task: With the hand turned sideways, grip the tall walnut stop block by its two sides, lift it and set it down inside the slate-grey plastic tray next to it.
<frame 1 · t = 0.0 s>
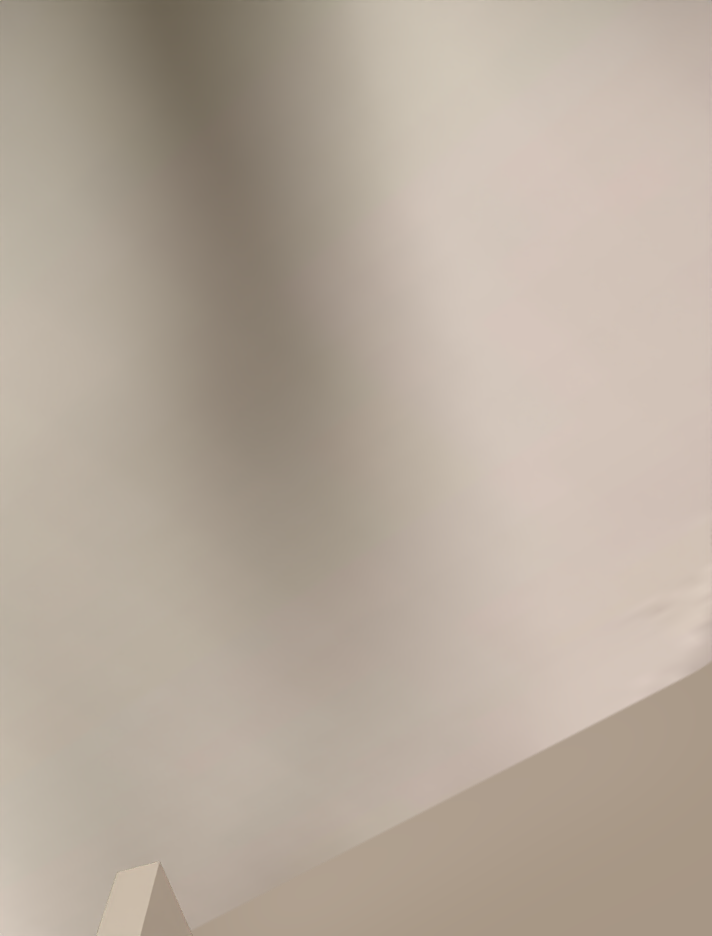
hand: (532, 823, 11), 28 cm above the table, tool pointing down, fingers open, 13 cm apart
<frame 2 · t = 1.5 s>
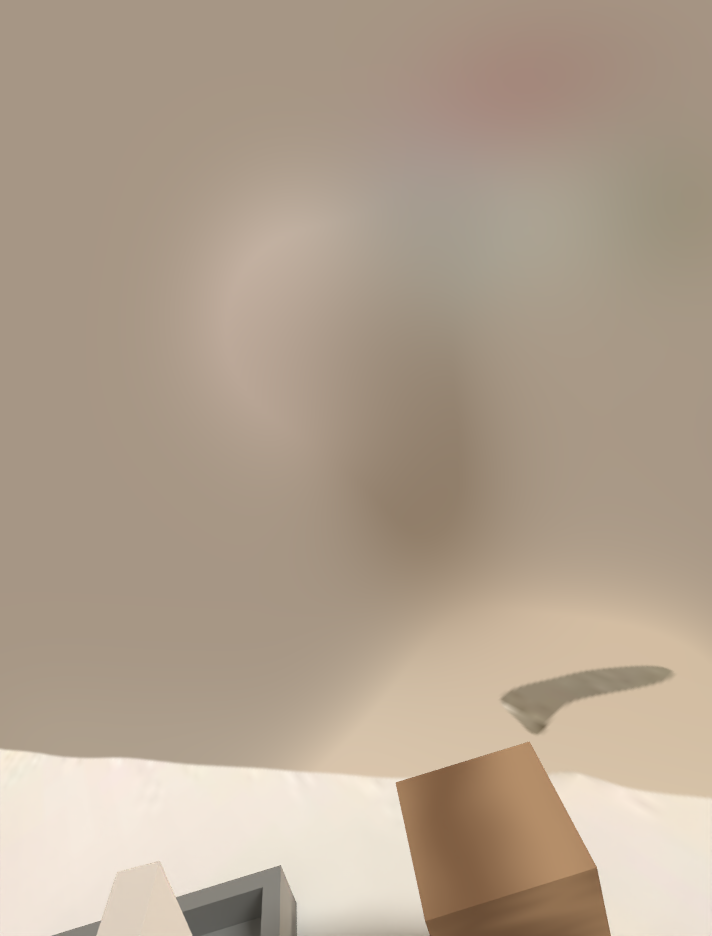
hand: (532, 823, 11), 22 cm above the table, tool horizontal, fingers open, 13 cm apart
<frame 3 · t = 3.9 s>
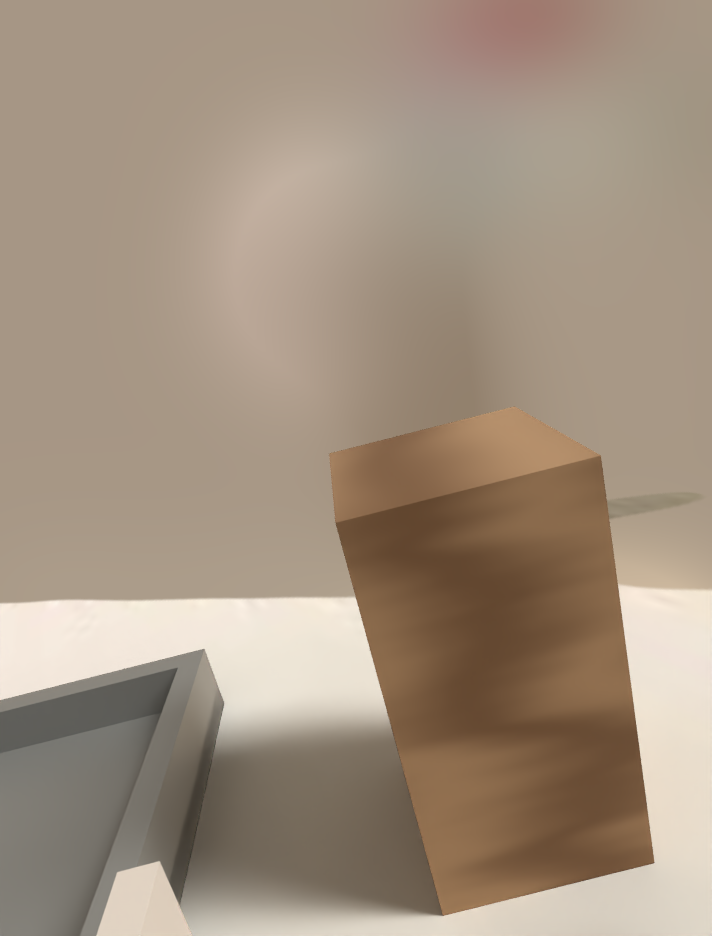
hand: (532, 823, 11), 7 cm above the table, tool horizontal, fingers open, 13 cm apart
stop block: (514, 801, 20), on the table
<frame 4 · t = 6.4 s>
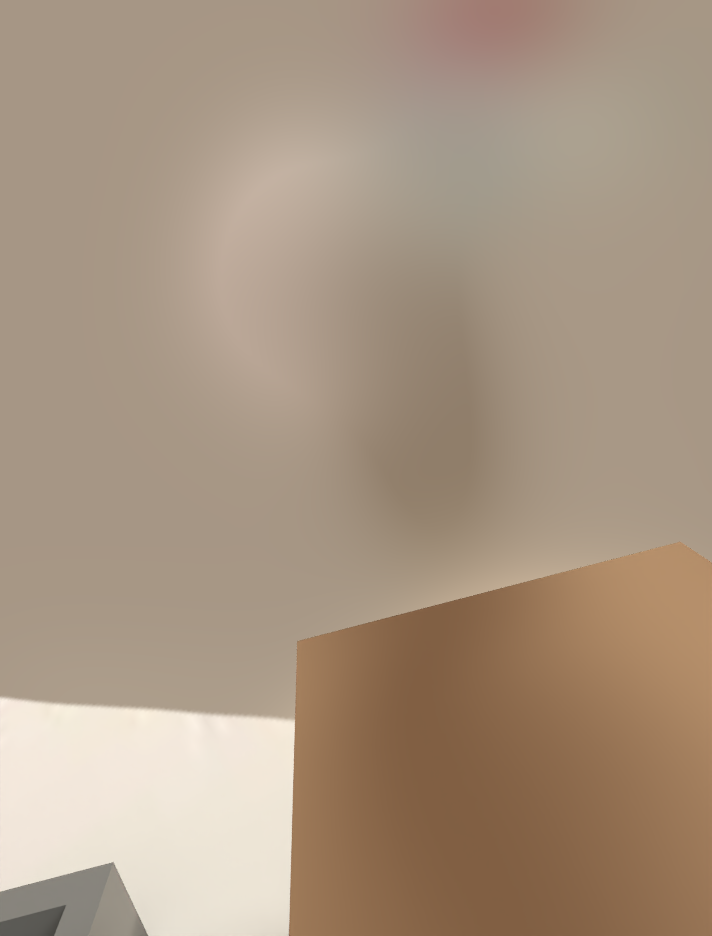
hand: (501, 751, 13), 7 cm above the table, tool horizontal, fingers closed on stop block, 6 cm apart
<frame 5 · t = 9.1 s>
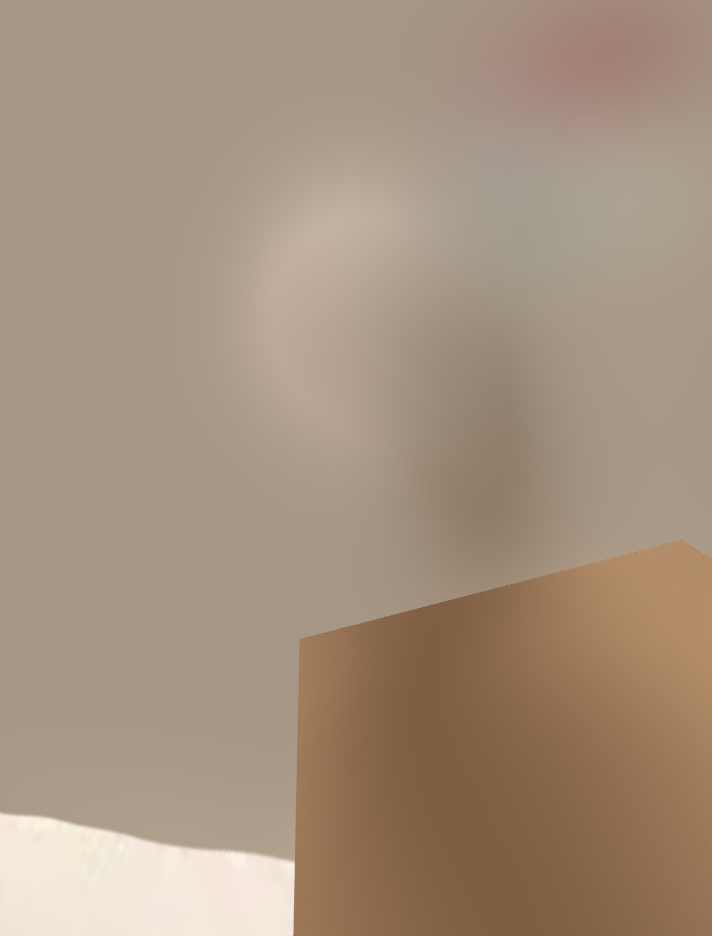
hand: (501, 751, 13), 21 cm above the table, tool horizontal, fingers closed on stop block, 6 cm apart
when the fingers open (9 cm above the table, at t = 11.9 s): stop block drops 1 cm, resting on tray.
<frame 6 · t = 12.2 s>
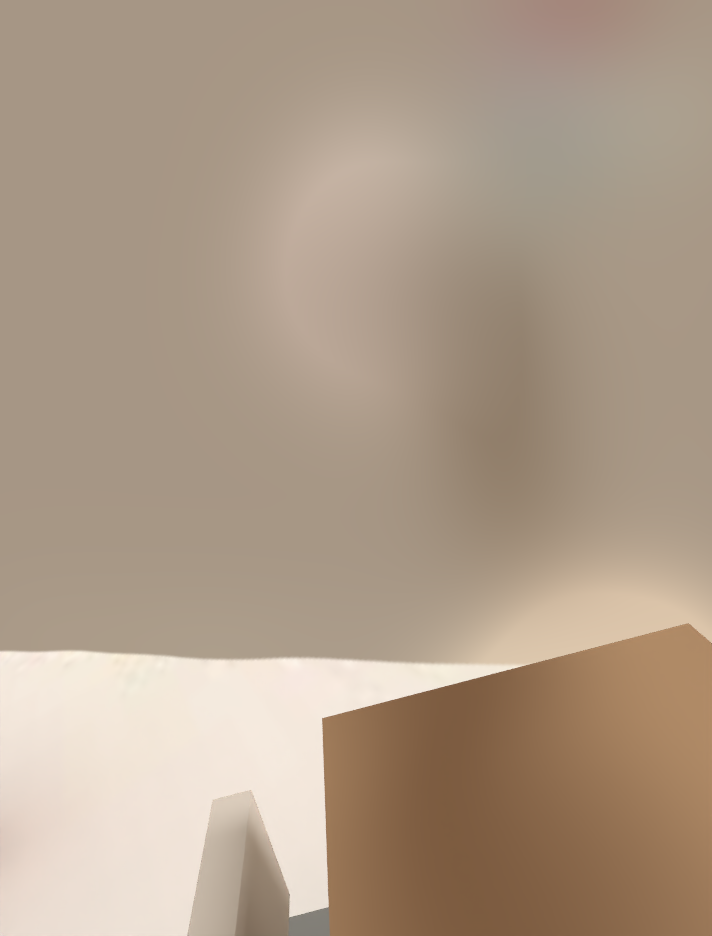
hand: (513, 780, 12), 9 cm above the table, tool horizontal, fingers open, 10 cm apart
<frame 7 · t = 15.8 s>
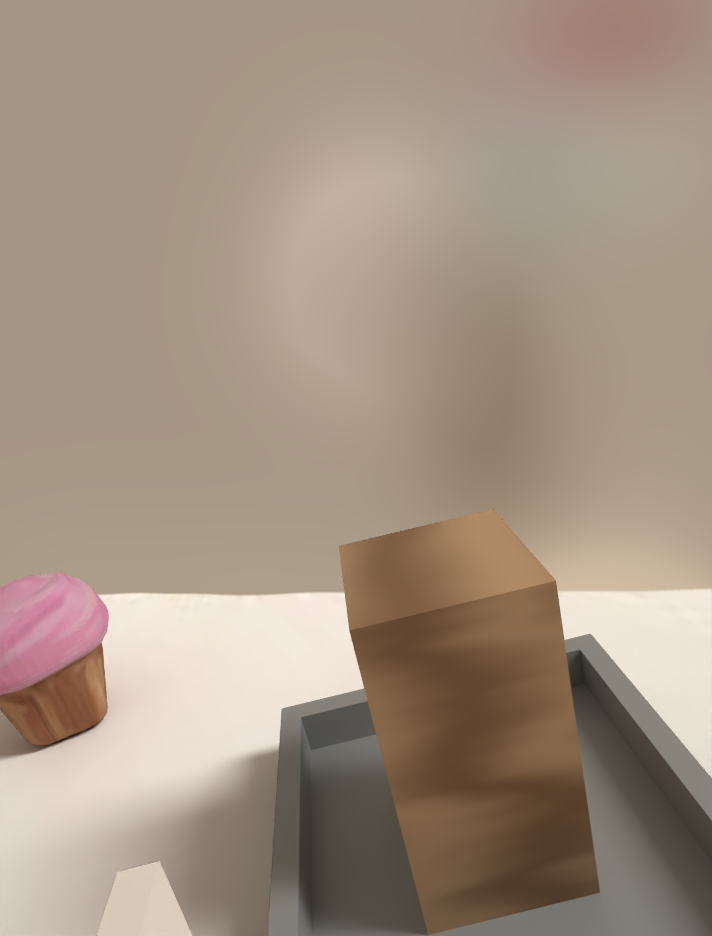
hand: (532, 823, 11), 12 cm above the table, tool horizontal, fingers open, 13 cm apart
stop block: (488, 837, 23), point 1 cm above the table, touching tray
cupcake: (71, 723, 39), on the table
tray: (492, 857, 24), on the table
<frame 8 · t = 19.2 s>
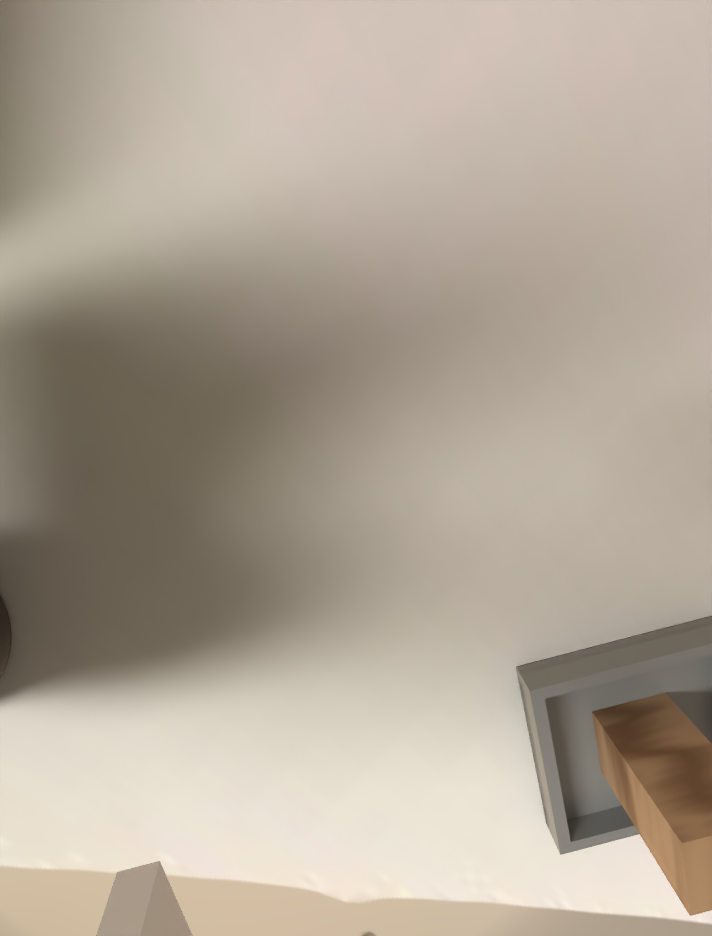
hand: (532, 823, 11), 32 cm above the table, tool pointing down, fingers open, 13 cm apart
stop block: (632, 732, 49), point 1 cm above the table, touching tray
tray: (626, 724, 50), on the table
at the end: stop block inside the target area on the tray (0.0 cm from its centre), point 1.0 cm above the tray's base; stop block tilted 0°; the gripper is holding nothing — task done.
